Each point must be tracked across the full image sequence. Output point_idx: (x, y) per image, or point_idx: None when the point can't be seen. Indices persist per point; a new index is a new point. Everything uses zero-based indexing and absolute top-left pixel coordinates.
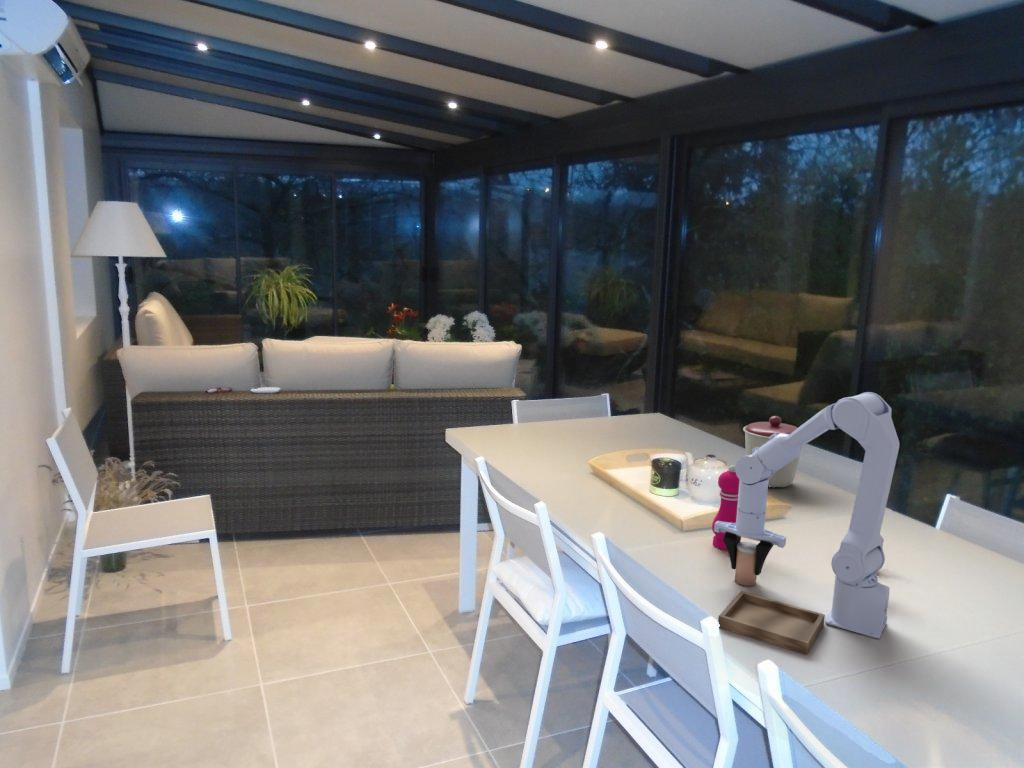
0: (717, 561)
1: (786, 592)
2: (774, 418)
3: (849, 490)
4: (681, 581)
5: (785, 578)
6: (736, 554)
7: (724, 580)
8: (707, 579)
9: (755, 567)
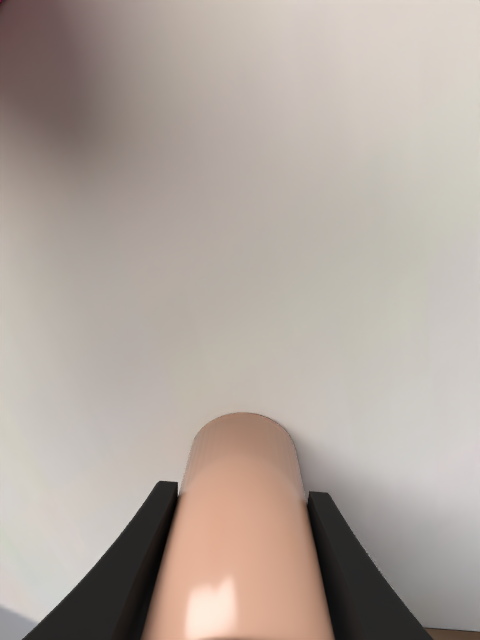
0: (20, 284)
1: (448, 461)
2: None
3: None
4: (11, 578)
5: (438, 296)
6: (144, 603)
7: None
8: (86, 515)
9: None
